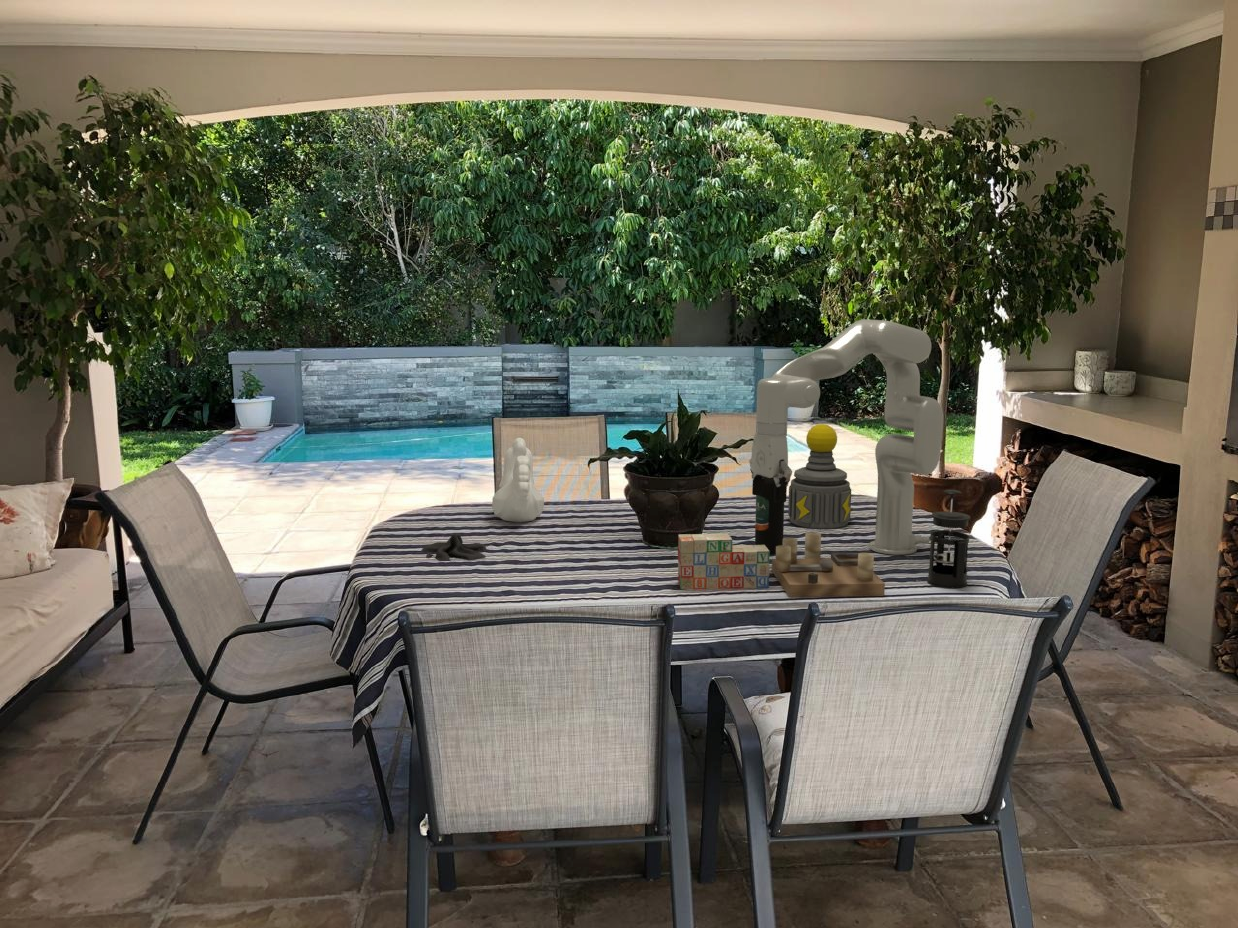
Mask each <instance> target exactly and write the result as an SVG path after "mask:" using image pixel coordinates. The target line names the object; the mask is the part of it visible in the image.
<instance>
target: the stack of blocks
mask: <svg viewBox="0 0 1238 928" xmlns="http://www.w3.org/2000/svg"><path fill="white" fill-rule="evenodd" d="M677 538H678V542H677V543H678V547H677V567H678V568H677V570H678V571H677V582H678V583H677V584H678V586H679V588H680V590H723V589H724V590H726V589H727V590H730V589H734V590H735V589H737V590H738V589H768V588H769V586H770V556H771V554H770V551H769V550H768V548H767V547H766V546H765V545H755V544H736V545H735V544H733V539H732V537H731V536H730V535H729V533H728V532H727V533H698V534H697V533H696V534H690V533H689V534H687V533H686V534H681V533H680V534H678V537H677Z"/></svg>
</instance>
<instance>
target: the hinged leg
mask: <svg viewBox="0 0 1238 928" xmlns="http://www.w3.org/2000/svg"><path fill="white" fill-rule="evenodd" d="M775 559H776V564H775V570H777V571H781V572H787V571H832V570H833V561H831V560H820V564H816V565H791V547H790V546H786V545H779V546H776V554H775Z"/></svg>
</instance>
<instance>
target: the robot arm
mask: <svg viewBox="0 0 1238 928" xmlns="http://www.w3.org/2000/svg"><path fill="white" fill-rule="evenodd" d="M931 351H932V342H931V338H930V336H929V335H928V334H927V333H926V332H925V331H923V330H921V329H918V328H915V327H912V326H907V325H904V324H901V323H898V322H893V321H892V320H891V321H890V320H883V319H882V320H880V319H858V320H856V321H855V322H853V323H851V324H850V325H849V326H848V327H847V328H846V329H844V330H843V331H842V332H840V333H839V334H838V335H837V336H836V337H834V338H833V339H832V340H831V341H830V342H828V343H827V344H826V345H824V346H823V347H821V348H818V349H816V350H813V351H811V352H809V353H806V354H804V355H801V356H800V357H799V356H798V357H797V358H794V359H793V360H791V361H789V362H788V363H786V364H785V365H783V366H781V368H780V369H778V370H777V371H776V372H774V374H773V375H772V376H771V377H767V378H762V379H760V380H758V382H757V390H756V391H757V392H756V416H755V417H756V419H755V420H756V421H755V433H754V437H753V442H752V447H751V455H750V459H749V460H748V461H749V462H748V463H749V466H750V469H749V471H750V473H751V479H752V487H751V488H752V489H751V491H752V492H751V494H752V496H756V495H763V494H764V486H765V479H764V478H763V477H768V478H772V477H773V478H774V481H775V483H776V486H775V487H774V502H775V503H782V502H784V503H786V502H787V493H788V492H787V491H788V487H789V483H790V482H791V477H792V475H793V470H792V468H791V467H789V466H790V465H789V448H788V438H787V437H788V417H789V414H788V413H789V412H788V411H789V410H788V409H789V408H797V409H798V408H799V409H808V408H811V407H813V406H815V405H816V403H818V401H819V400H820V397H821V389H820V386H819V384H818V383H817V382H816V381H819V380H825V379H826V380H827V379H832V378H836V377H840V376H842V375H845V374H846V373H847V372H849V370H851V369H852V368H854V367H855V366H856V365H857V364H858V363H859V362H860V361H862V360H863V359H864V358H865V357H867V356H868V355H870V354H873V355H874V356H875V357H876V358H877V360H878V361H880V363H881V364H882V366H883V368H884V370H885V373H886V390H885V391H886V393H885V404H884V421H885V423H886V425H887V426H889V427H890V428H893V429H896V430H900V431H901V430H902V431H908V432H913V436H912V435H907V434H901V433H900V434H899V433H889V434H885V435H883V436H882V437H881V438H880V439H878V441H877V443H876V445H875V449H874V450H875V451H874V452H875V453H874V456H875V461H876V467H877V494H876V514H875V515H876V516H875V517H876V518H875V534H874V535H875V538H874V540H873V541H870V542H869V543H868V548H869V549H870V550H871V551H873V552H875V553H879V554H885V555H894V556H895V555H896V556H899V555H900V556H901V555H911V554H914V553H916V552H917V550H918V546H917V545H918V544H930V536H928V535H927V536H925V535H924V536H923V535H922V534H921V535H920V534H919V535H918V534H916V535H915V534H914V533H913V517H914V516H913V515H914V497H915V496H914V495H915V484H914V480H913V476H912V474H915V475H921V476H922V475H923V476H927V475H930V474H932V473H933V472H934V471H935V470H936V469H937V467H938V464H939V462H940V458H941V450H942V449H941V448H942V439H943V430H944V411H943V408H942V406H941V404H940V402H939V401H938V400H937V399H936V398H933V397H929V396H923V395H921V393H920V391H921V390H920V387H921V385H920V384H921V374H920V369H919V367H918V365H917V364H919V363H922V362H924V361H926V359H928V357H930V354H931ZM762 478H763V479H762ZM779 478H781V480H780V481H779Z"/></svg>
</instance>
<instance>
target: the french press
mask: <svg viewBox="0 0 1238 928" xmlns="http://www.w3.org/2000/svg"><path fill="white" fill-rule="evenodd" d="M942 492H943V494H948V495H949V499H950V509H949V510H950V511H945V510H944V511H943V510H942V511H936V512H932V513H931V517H932V520H933V521H932V523H933V525H935V526H937V527H941V528H945V529H947V528H948V529H949V530H937V531H931V533H930V534H929V535H930V536H929V541H930V550H929V564H928V565H929V566H928V574H927V579H926V582H927V584H928V585H930V586H933V587H936V588H940V589H941V588H942V589H948V590H949V589H953V590H954V589H956V590H957V589H962V588H966V587H967V586H968V581H967V577H968V570H967V569H968V568H967V565H968V564H967V563H968V551H969V550H968V548H969V547H968V546H969V543H970V536H969V534H967V533H964V532H960V531H953V530H952V529H963V528H967V527H968V526H969V520H970V519H971V516H970V515H969V514H967V513H963V512H957V511H953V500H954V499H955V495H960V494H962V492H961V491H960V490H958V489H945V490H943V491H942ZM945 537H948V538H945ZM951 537H953V538H960V539H951ZM935 543H936V553H935ZM945 546H948V547H947V552H944V551H945ZM951 546H954V547H953V548H954V549H953V550H954V551H953V553H951V552H950V551H951ZM934 563H935V565H934Z"/></svg>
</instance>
